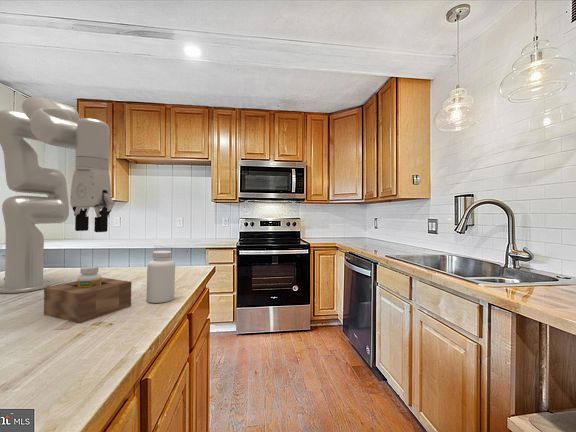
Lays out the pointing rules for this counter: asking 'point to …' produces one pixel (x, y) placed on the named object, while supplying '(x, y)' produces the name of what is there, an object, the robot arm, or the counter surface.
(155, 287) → the pill bottle
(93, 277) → the supplement bottle
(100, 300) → the socket block
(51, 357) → the counter surface
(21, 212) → the robot arm
